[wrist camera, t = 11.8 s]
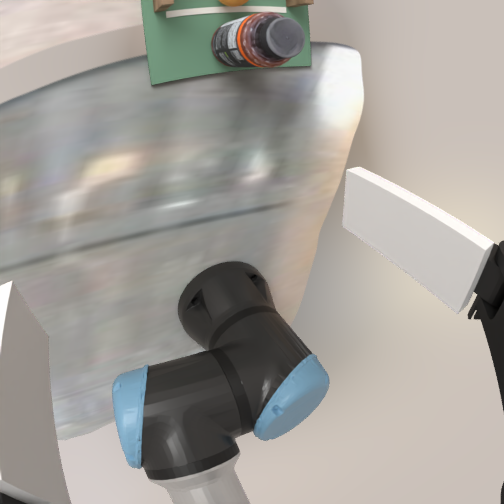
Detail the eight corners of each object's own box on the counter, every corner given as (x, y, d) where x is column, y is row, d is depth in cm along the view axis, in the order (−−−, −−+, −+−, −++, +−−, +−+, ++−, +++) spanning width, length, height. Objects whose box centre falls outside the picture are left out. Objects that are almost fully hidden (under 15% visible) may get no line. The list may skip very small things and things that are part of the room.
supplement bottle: (263, 34, 31) (324, 29, 23) (244, 75, 33) (300, 80, 25) (221, 13, 27) (274, -5, 19) (200, 56, 29) (246, 50, 21)
